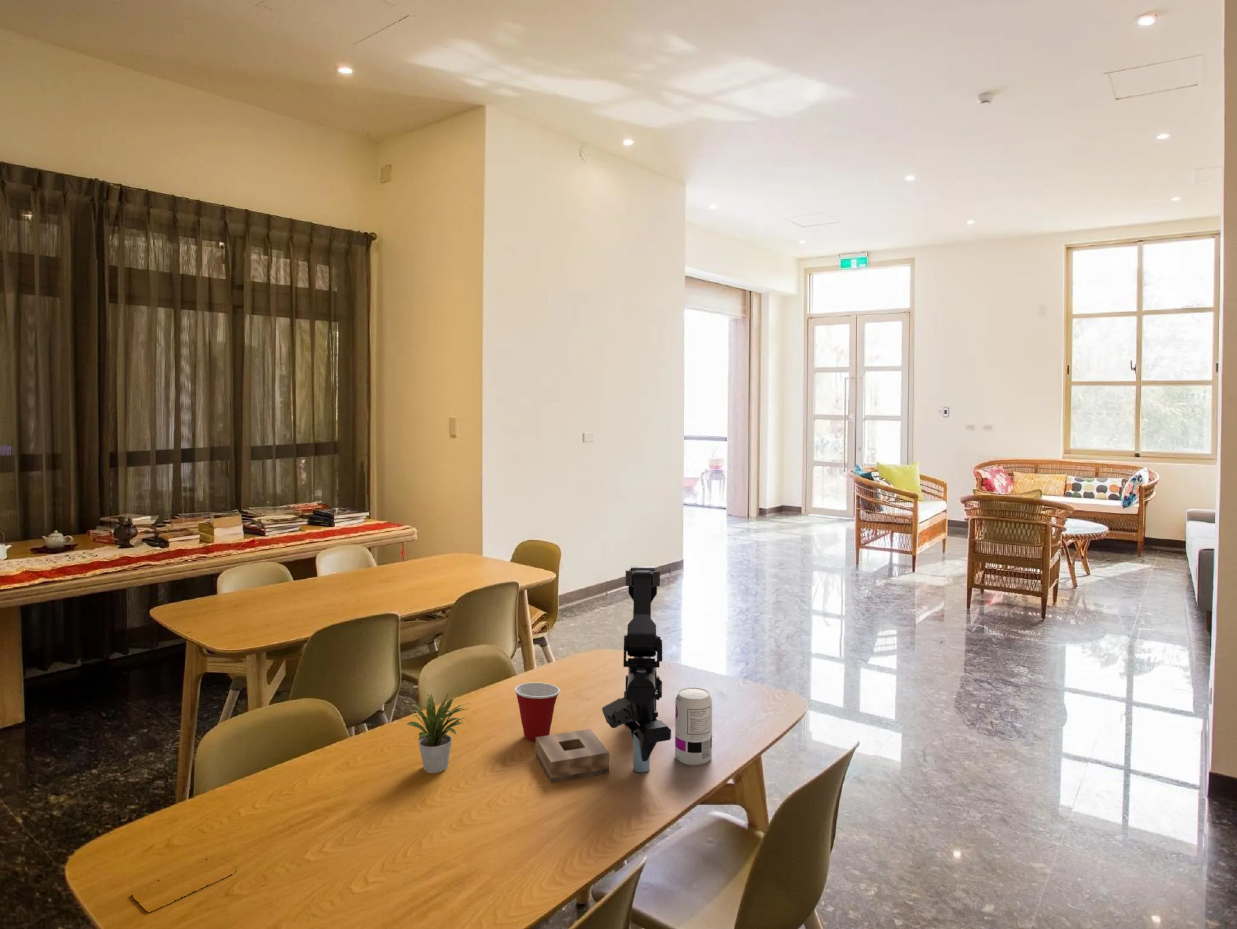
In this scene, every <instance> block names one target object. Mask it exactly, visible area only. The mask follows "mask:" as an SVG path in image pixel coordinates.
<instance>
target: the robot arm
mask: <svg viewBox="0 0 1237 929" xmlns="http://www.w3.org/2000/svg"><path fill="white" fill-rule="evenodd" d="M624 582H625V586H626V587H628V595H629V596H630V598H631V600H632V601H633V605H632V606H633V609H632V611H633V612H632V613H633V614H632V619H631V620H630V621H629V622H628V624H627V632H626V634H624V635H623V664H622V665H623V668H628V670H627V672H628V674H626V675H625V691H624V692H623V697H620V698H617V699H615V700H614V701H612V702H610V703H608V704H606V705H605V706H602V708H601V710H602V713H603V716H604V719H605V721H606V723H607V724H608V725H609V726H610V728H612V729H616V728H618V727H619V726H622V725H625V726H626V727H627V728H628V730H629V734H630V736H631V742H632V743H633V734H634V735H635V736H636V737H637V738H638V739H639V742H640V750H641V757H642V761H647V760H648V758H649V756H650V757H651V754H652V752H653V750H654V749H655V746H656V745H657V743H659V742H665V741H671V739H672V728H670V727H669V726H668V725H666V723H665V722H663V721H662V719H659V720H658V719H657V718H659V712H658V711H657V701H660V699H661V698H663V681H662V680H661V678H660V675H657V668H660V667H661V666H660V665H661V664H660V662H663V640H662V639H661V636H660V634H657V625H656V624H657V623H655V622H654V620H653V619H652V618H651V617H652V615H651V614H652V603H653V601H654V599H655V598H656V596H657V594H658V587H661V571H660V570H658V569H656V566H654V565H650V566H649V565H631V566H630V568H629V569H627V570H625V581H624ZM627 656H628V657H627ZM655 657H656V658H655ZM635 730H638V732H634V731H635ZM633 732H634V733H633Z"/></svg>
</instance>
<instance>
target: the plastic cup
mask: <svg viewBox="0 0 1237 929" xmlns="http://www.w3.org/2000/svg"><path fill="white" fill-rule="evenodd" d="M514 692H515V695H516V698H517V703H518V709H519V714H520V722H521V726H522V730H523V736H524V739H525V740H527V741H528V742H532V743H536V737H540V736H547V735H551V734H550V732H551V727H552V726H551V725H552V722H553V718H554V717H553V716H554V710H555V704H556V701H557V698H558V695H559V694H561V693H560V692H561V689H560V688H559V687H558V686H557V685H554V684H552V683H546V682H538V681H537V682H536V681H534V682H525V683H522V684H518V685H516V686H514Z"/></svg>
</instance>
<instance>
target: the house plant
mask: <svg viewBox="0 0 1237 929" xmlns="http://www.w3.org/2000/svg"><path fill="white" fill-rule="evenodd" d="M457 696H458V695H457V694H456V695H454V696H452V697H451V698H450V699H448V697H449V693H447V695H446V696H445V697H444V698H443V700H442V701H441V703H440V704H439V707H438V708H437V711H436V704H435V702H434V697H433V695H432V694H429V693H426V699H425V700H426V707H425V706H423V708H424V709H425V710H426V715H425V713H424V712H423V711H422V709H421V708H420V707H419V706H417V705H416V704H414V703H413V704H412V703H411V705H412V707H413V708H415V709H414V710H415V711H416V712H417V714H415V713H413V712H412V713H411V714H412V715H413V718H415V717H416V718H417V719H418V721H420V722H421V723H422V724H423V725H421V724H419V723H418V722H416V721H409V722H407V723H406V726H407V725H408V726H412V727H414V728H418V729H419V730H421V731H419V733H418V748H419V751H420V757H421V761H422V762H421V763H422V767H423V770H425V771H426V772H425V771H424V772H425V773H428V774H438V773H437V772H439V773H442V772H444V771H446V770H447V769H448V768H449V762H450V754H451V747H452V736H451V735H450V734H448V732H450V733H453V734H454V735H455V736H457V732H456V729H455V728H453V727H455V726H459V725H464V722H461V721H462V720H465V719H466V717H462V718H458V717H452V718H451V716H452V715H454V714H456V713H458V712H461V711H467V710H470V708H464V707H462V706H466V705H468V704H470V702H468V703H462V704H460V705H459V704H458V705H457V706H455V707H454V708H452V709H451V710H450V708H451V707H452V704H453V701H454V700H455V699H456V697H457ZM447 699H448V701H447ZM419 716H420V717H421V718H419ZM452 721H453V722H452ZM450 722H451V723H450ZM447 767H448V768H447ZM445 769H446V770H445ZM443 770H444V771H443ZM441 771H442V772H441Z"/></svg>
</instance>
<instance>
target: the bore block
mask: <svg viewBox="0 0 1237 929" xmlns="http://www.w3.org/2000/svg"><path fill="white" fill-rule="evenodd" d="M535 757H536V759H537V761H538V763H539V764H540V766H541V768H542V770H543V771H544V774H545V775H546V776H547V778H548V780H549V781H550V783H551V784H554V783H559V782H564V781H570V780H575V779H583V778H586V777H587V778H588V777H593V776H599V775H605V774H610V752H609V750H608V749H607V748H606V746H605V744H603V742H602V741H601V740H600V739H599V738H598V736H597V735H596V733H594V731H593V730H592V728H588V729H581V730H575V731H567V732H561V733H554V734H549V735H547V736H540V737H536V742H535Z"/></svg>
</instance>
